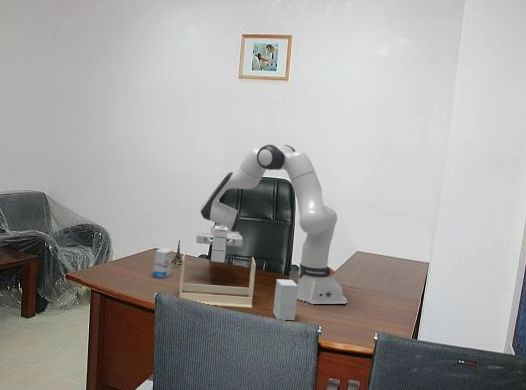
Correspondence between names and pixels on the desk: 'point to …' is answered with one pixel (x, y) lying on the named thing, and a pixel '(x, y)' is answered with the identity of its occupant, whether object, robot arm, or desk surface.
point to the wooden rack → (218, 291)
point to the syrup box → (219, 244)
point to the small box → (285, 299)
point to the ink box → (162, 262)
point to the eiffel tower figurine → (177, 256)
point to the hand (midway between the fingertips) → (219, 243)
